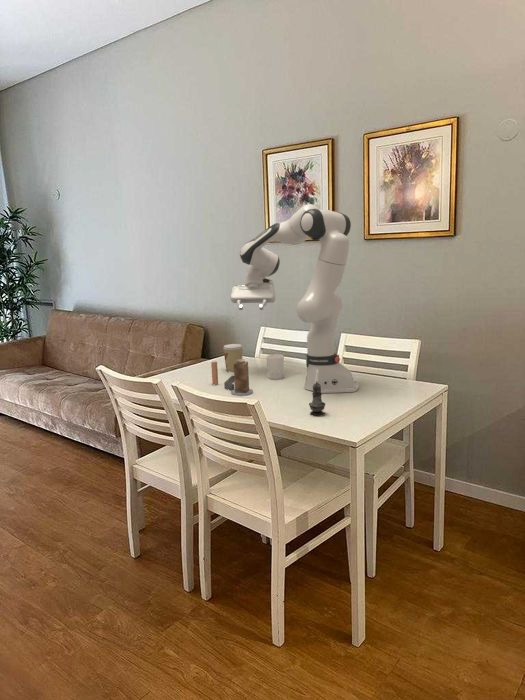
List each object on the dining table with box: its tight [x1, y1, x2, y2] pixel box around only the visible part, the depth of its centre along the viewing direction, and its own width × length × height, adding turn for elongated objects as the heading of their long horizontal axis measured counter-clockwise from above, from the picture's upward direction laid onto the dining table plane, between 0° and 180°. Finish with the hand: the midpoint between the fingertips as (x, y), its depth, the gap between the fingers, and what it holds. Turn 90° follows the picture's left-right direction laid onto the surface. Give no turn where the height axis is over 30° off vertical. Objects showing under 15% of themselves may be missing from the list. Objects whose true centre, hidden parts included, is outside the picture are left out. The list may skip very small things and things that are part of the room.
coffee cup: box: [223, 343, 244, 373], centre depth 252 cm, size 9×9×12 cm
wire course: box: [210, 361, 235, 391], centre depth 225 cm, size 15×15×10 cm
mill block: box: [233, 358, 250, 393], centre depth 213 cm, size 5×5×13 cm
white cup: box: [265, 353, 285, 380], centre depth 235 cm, size 8×8×10 cm
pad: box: [230, 388, 254, 397], centre depth 215 cm, size 9×9×1 cm
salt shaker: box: [308, 381, 326, 417], centre depth 184 cm, size 6×6×12 cm
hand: (250, 309), depth 231 cm, fingers open, 8 cm apart
